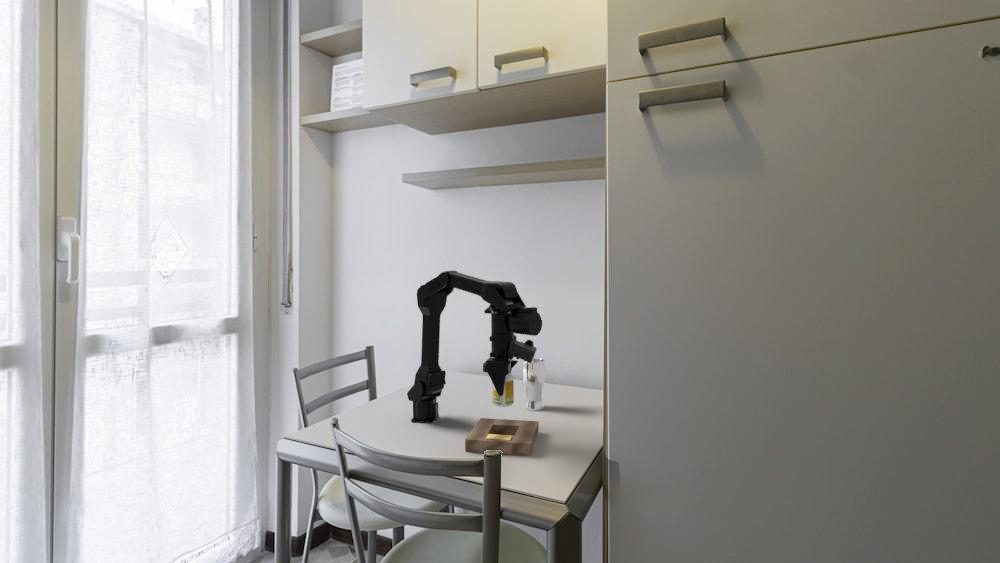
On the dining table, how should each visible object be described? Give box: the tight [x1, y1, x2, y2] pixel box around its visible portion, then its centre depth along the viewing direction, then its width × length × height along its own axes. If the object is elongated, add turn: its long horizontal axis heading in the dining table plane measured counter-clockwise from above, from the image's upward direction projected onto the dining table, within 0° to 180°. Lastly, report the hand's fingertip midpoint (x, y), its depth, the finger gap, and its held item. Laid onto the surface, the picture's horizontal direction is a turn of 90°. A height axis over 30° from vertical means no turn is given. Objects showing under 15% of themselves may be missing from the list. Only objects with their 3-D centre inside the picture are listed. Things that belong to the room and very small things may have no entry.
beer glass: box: [522, 357, 546, 412], centre depth 157 cm, size 7×7×15 cm
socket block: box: [464, 417, 540, 457], centre depth 129 cm, size 16×16×3 cm
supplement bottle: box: [491, 373, 515, 408], centre depth 129 cm, size 5×5×10 cm
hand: (502, 392), depth 129 cm, fingers closed on supplement bottle, 5 cm apart
